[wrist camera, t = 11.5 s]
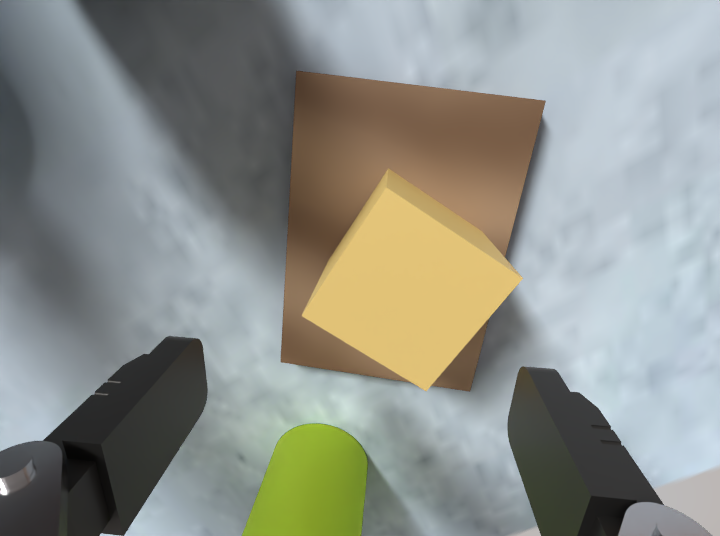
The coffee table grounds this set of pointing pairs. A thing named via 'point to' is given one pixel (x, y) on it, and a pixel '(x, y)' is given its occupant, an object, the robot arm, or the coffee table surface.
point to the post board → (413, 163)
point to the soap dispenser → (312, 485)
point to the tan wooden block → (410, 282)
